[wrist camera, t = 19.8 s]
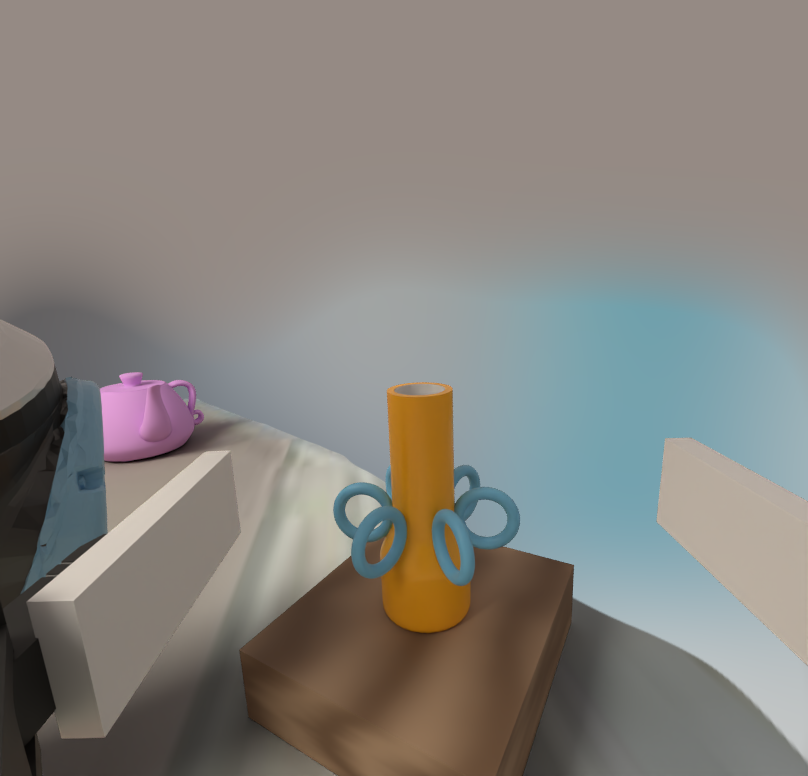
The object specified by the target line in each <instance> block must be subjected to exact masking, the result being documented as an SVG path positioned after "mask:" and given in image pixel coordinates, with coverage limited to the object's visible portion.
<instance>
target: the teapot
mask: <svg viewBox="0 0 808 776" xmlns="http://www.w3.org/2000/svg"><path fill="white" fill-rule="evenodd" d="M119 377H120V379H121V381H122V382H123V383H119V384H115V385H110V386H106V387H103V388H101V389H100V392H101V403H102V418H103V436H104V461H122V462H128V461H133V460H137V459H143V458H148V457H153V456H157V455H160V454H164V453H167V452H169V451H172V450H174V449H177V448H179V447H180V446H182V445H183V444H185V442H186V441H187V440H188V438H189V437H190V436H191V434H192V432H193V430H194V425H198V424H200V423H201V422H202V421H203V419H204V415H203V413H202V412H201V411H200V410H194V408H195V402H196V391H195V388H194V386H193V385H192V384H191V383H189V382H187V381H183V380H175V381H172V382H170V383H169V384H167V383H166V382H164V381H159V380H145V381H141V380H142V373H137V372H135V373H126V374H122V375H120V376H119ZM176 386H186V387H187V388H188V391H189V402H188V407H187V405H186V404H185V402H184V401H183V400H182V399H181V397H180V396H179V395H178V394H177V393H176V392H175V391H174V390H173V389H172V388H173V387H176ZM194 414H198V415H199V416H198V418H197V419H195V420H194V416H193V415H194Z"/></svg>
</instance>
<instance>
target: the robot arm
mask: <svg viewBox="0 0 808 776" xmlns="http://www.w3.org/2000/svg"><path fill="white" fill-rule="evenodd" d="M104 475H105V467H104V436H103V418H102V403H101V392H100V388H99V386H98V385H97V384H96V383H94V382H92V381H88V380H79V379H77V378H73V379H72V377H68V378H65V379H64V380H62V381H59V379H58V376H57V372H56V368H55V365H54V360H53V357H52V354H51V352H50V351H49V349H48V347H47V346H46V344H45V343H44V342H43V341H42V340H40V339H39V338H37V337H36V336H34V335H32V334H30V333H28V332H26V331H24V330H21V329H19V328H17V327H15V326H13V325H11V324H9V323H7V322H4V321H3V320H0V776H42V768H41V749H40V745H39V741H38V738H37V734H36V733H37V731H38V730H39V729H40V728H41V727H42V725H43V724H44V723H45V722H46V720H47V719H48V718H49V717H50V716H51V714H52V713H53V712H55V716H56V720H57V724H58V727H59V731H60V735H61V739H68V738H105V737H106V735H107V734H108V732H109V731H110V729H111V728H112V726H113V725H114V723H115V722H116V720H117V719H118V717H119V716H120V714H121V713H122V711H123V710H124V708H125V707H126V705H127V704H128V702H129V701H130V699H131V698H132V696H133V694H134V693H135V691H136V690H137V688H138V687H139V685H140V684H141V682H142V681H143V679H144V678H145V676H146V675H147V673H148V672H149V670H150V669H151V667H152V666H153V664H154V663H155V661H156V660H157V658H158V657H159V655H160V654H161V652H162V651H163V649H164V648H165V646H166V645H167V643H168V642H169V640H170V639H171V637H172V636H173V634H174V633H175V631H176V630H177V628H178V627H179V625H180V624H181V622H182V621H183V619H184V617H185V616H186V614H187V613H188V611H189V610H190V608H191V607H192V605H193V604H194V602H195V601H196V599H197V598H198V596H199V595H200V593H201V592H202V590H203V589H204V587H205V586H206V584H207V583H208V581H209V580H210V578H211V577H212V575H213V574H214V572H215V571H216V569H217V568H218V566H219V565H220V563H221V562H222V560H223V559H224V557H225V556H226V554H227V553H228V551H229V550H230V548H231V547H232V545H233V544H234V542H235V541H236V539H237V537H238V536H239V534H240V533H241V530H240V522H239V514H238V506H237V498H236V490H235V482H234V475H233V467H232V459H231V451H205V452H204V453H203V454H202V455H201V456H199V457H198V458H197V459H196V460H195V461H193V462H192V463H191V464H190V465H189V466H188V467H186V468H185V469H184V470H183V471H182V472H180V473H179V474H178V475H177V476H176V477H174V478H173V479H172V480H171V481H170V482H168V483H167V484H166V485H165V486H164V487H163V488H161V489H160V490H159V491H158V492H157V493H155V494H154V495H153V496H152V497H151V498H149V499H148V500H147V501H146V502H145V503H143V504H142V505H141V506H140V507H139V508H138V509H136V510H135V511H134V512H133V513H132V514H130V515H129V516H128V517H127V518H126V519H124V520H123V521H122V522H121V523H120V524H118V525H117V526H116V527H115V528H114V529H113V530H111V531H110V532H109V533H108V532H107V507H106V489H105V477H104ZM657 523H659V524H660V525H661V526H662V527H663V528H664V529H665V530H666V531H667V532H668V533H669V534H670V535H671V536H672V537H673V538H674V539H675V540H676V541H677V542H678V543H679V544H681V545H682V546H683V547H684V548H685V549H686V550H687V551H688V552H689V553H690V554H691V555H692V556H693V557H694V558H695V559H696V560H697V561H698V562H699V563H700V564H701V565H702V566H704V567H705V568H706V569H707V570H708V571H709V572H710V573H711V574H712V575H713V576H714V577H715V578H716V579H717V580H718V581H719V582H720V583H721V584H722V585H724V587H726V588H727V589H728V590H729V591H730V592H731V593H732V594H733V595H734V596H735V597H736V598H737V599H738V600H739V601H740V602H741V603H742V604H743V605H744V606H745V607H747V608H748V609H749V610H750V611H751V612H752V613H753V614H754V615H755V616H756V617H757V618H758V619H759V620H760V621H761V622H762V623H763V624H764V625H765V626H766V627H767V628H768V629H770V630H771V631H772V632H773V633H774V634H775V635H776V636H777V637H778V638H779V639H780V640H781V641H782V642H783V643H784V644H785V645H786V646H787V647H789V649H791V650H792V651H793V652H794V653H795V654H796V655H797V656H798V657H799V658H800V659H801V660H802V661H803V662H804V663H805V664H807V666H808V501H806V500H804V499H802V498H801V497H799V496H797V495H795V494H793V493H792V492H790V491H788V490H786V489H784V488H782V487H780V486H779V485H777V484H775V483H773V482H771V481H770V480H768V479H766V478H764V477H762V476H760V475H759V474H757V473H755V472H753V471H751V470H749V469H747V468H745V467H744V466H742V465H740V464H738V463H736V462H735V461H733V460H731V459H729V458H727V457H725V456H724V455H722V454H720V453H718V452H716V451H714V450H713V449H711V448H709V447H707V446H705V445H703V444H701V443H700V442H698V441H696V440H694V439H692V438H666V439H665V446H664V456H663V466H662V474H661V484H660V493H659V503H658V512H657Z"/></svg>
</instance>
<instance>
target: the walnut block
mask: <svg viewBox="0 0 808 776" xmlns="http://www.w3.org/2000/svg"><path fill="white" fill-rule="evenodd" d="M385 537H386V536H385ZM385 537H384V538H382V539H380V540H378V541H374V542H367V543H366V547H365V557H366V560H367V562H368V563H369V564H376V563H378V562H380V550H381V546H382V543H383V541H384V539H385ZM473 549H474V556H475V570H474V575H473V577H472V579H471V602H470V608H469V610H468V612H467V614H466V616H465V617H464V618H463V620H462V621H461V622H460V623H458V624H457V625H455V626H454V627H451V628H449V629H447V630H444V631H440V632H434V633H419V632H413V631H409V630H406V629H403V628H402V627H400V626H398V625H396V624H395V623H394V622H393V621H391V619H390V618H389V617H388V616H387V614H386V612H385V610H384V607H383V600H382V583H381V577H378V578H374V579H369V578H365V577H363V576H361V575H360V574H359V573H358V572H357V571H356V570H355V568H354V566H353V563H352V557H351V556H350V557H349V558H348V559H347V560H345V561H344V562H343V563H342V564H341V565H339V566H338V567H337V568H336V569H335V570H333V571H332V572H331V573H330V574H329V575H328V576H326V577H325V578H324V579H323V580H322V581H320V582H319V583H318V584H317V585H316V586H315V587H313V588H312V589H311V590H310V591H309V592H307V593H306V594H305V595H304V596H303V597H302V598H300V599H299V600H298V601H297V602H296V603H294V604H293V605H292V606H291V607H290V608H288V609H287V610H286V611H285V612H284V613H283V614H281V615H280V616H279V617H278V618H277V619H275V620H274V621H273V622H272V623H271V624H270V625H268V626H267V627H266V628H265V629H264V630H262V631H261V632H260V633H259V634H258V635H256V636H255V637H254V638H253V639H252V640H251V641H249V642H248V643H247V644H246V645H245V646H243V647H242V648H241V649H240V650H239V651H240V658H241V665H242V672H243V680H244V687H245V694H246V701H247V709H248V716H249V718H251V719H252V720H254V721H255V722H257V723H258V724H260V725H261V726H263V727H264V728H266V729H267V730H269V731H270V732H272V733H273V734H275V735H277V736H278V737H280V738H281V739H283V740H284V741H286V742H287V743H289V744H290V745H292V746H293V747H295V748H296V749H298V750H299V751H301V752H303V753H304V754H306V755H307V756H309V757H310V758H312V759H313V760H315V761H316V762H318V763H319V764H321V765H322V766H324V767H325V768H327V769H328V770H330V771H332V772H333V773H335V774H336V775H338V776H523V772H524V769H525V766H526V763H527V760H528V757H529V753H530V750H531V747H532V744H533V741H534V738H535V735H536V731H537V728H538V725H539V722H540V719H541V716H542V713H543V709H544V706H545V703H546V700H547V697H548V694H549V690H550V687H551V684H552V681H553V678H554V675H555V672H556V668H557V665H558V662H559V659H560V656H561V653H562V650H563V646H564V643H565V640H566V637H567V634H568V631H569V627H570V624H571V617H572V595H573V574H574V573H573V572H574V565H572V564H568V563H564V562H560V561H557V560H552V559H549V558H545V557H541V556H537V555H533V554H530V553H526V552H522V551H518V550H514V549H511V548H507V547H503V546H502V547H500V548H497V549H490V550H486V549H479V548H476V547H473Z"/></svg>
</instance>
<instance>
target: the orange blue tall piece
mask: <svg viewBox="0 0 808 776" xmlns="http://www.w3.org/2000/svg"><path fill="white" fill-rule="evenodd" d="M452 392H453V391H452V387H451V386H449V385H445V384H439V383H427V382H425V383H424V382H422V383H407V384H401V385H396V386H393V387H391V388H389V389H388V390H387V403H388V423H389V444H390V466H389V467H388V469H387V473H386V491H387V493H386V492H385V491H384V490H382V489H381V488H380V487H378V486H376V485H373V484H370V483H354V484H351V485H349V486H347V487H345V488H344V489H343V490H342V491H341V492H340V493H339V494H338V496H337V497H336V500H335V502H334V509H333V511H334V518H335V521H336V523H337V525H338V527H339V528H340V529H341V531H342V532H343V533H344V534H346V535H347V536H348V537H350V538H352V539H353V543H352V549H351V557H352V563H353V566H354V568H355V570H356V571H357V572H358V573H359V574H360V575H361V576H363V577H365V578H369V579H374V578H378V577H381V583H382V600H383V607H384V610H385V612H386V614H387V616H388V617H389V618H390V619H391V621H393V622H394V623H395V624H396V625H398V626H400V627H402V628H403V629H406V630H409V631H413V632H419V633H434V632H440V631H444V630H447V629H449V628H451V627H454V626H455V625H457V624H458V623H460V622H461V621H462V620H463V618H464V617H465V616H466V614H467V612H468V610H469V608H470V602H471V579H472V577H473V575H474V570H475V556H474V549H473V547H476V548H479V549H486V550H490V549H497V548H500V547H502V546H504V545H506V544H507V543H509V542H510V541H511V540H512V539H513V538H514V537H515V535H516V534H517V532H518V529H519V525H520V514H519V511H518V508H517V506H516V504H515V503H514V501H513V500H512V499H511V498H510V497H509V496H508V495H507V494H505V493H504V492H502V491H500V490H498V489H495V488H490V487H480V479H479V476H478V473H477V472H476V470H475V469H474V468H473V467H471V466H469V465H462V466H459V467H457V468H455V469H454V453H453V393H452ZM464 476H467V477H468V479H469V483H470V490H469V491H467V492H466V493H464V494H463V495H462V496H461V497H460V498H459V499H458V500H457V502H456V503H454V502H455V501H454V489H455V486H456V484H457V483H458V481H459V480H460V479H461V478H462V477H464ZM360 494H363V495H368V496H371V497H373V498H374V499H376V500H377V501H378V502H379V503H380V504H381V506H382V507H379V508H377V509H375V510H373V511H372V512H371V513H369V514H368V515H367V516H366V517H365V518H364V520H363V521H362V522H361V524H360V525H359V527H358V528H356V527H355V526H353V525H352V524H351V523H350V522H349V520H348V519H347V517H346V514H345V506H346V503H347V501H348V500H349V499H350V498H351V497H353V496H355V495H360ZM484 499H486V500H492V501H495V502H497V503H498V504H500V505H501V506H502V507H503V508H504V509H505V511H506V513H507V525H506V527H505V529H504V530H503V531H502V532H501V533H499V534H498V535H495V536H492V537H482V536H478V535H476V534H474V533H473V532H471V531H470V530H469V529H468V527H467V526H466V523H465V520H467V519H468V517H470V515H471V514H472V512H473V511H474V509H475V507H476V505H477V502H478V500H484ZM381 521H383V522H382V523H381V525H380V526H379V527H377V528H376V529H374V528H375V526H376V525H377V524H379V523H380V522H381ZM385 536H386V537H385ZM384 537H385V539H384V541H383V543H382V546H381V550H380V562H378V563H376V564H369V563H368V562H367V560H366V557H365V547H366V543H367V542H374V541H378V540H380V539H382V538H384Z"/></svg>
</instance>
